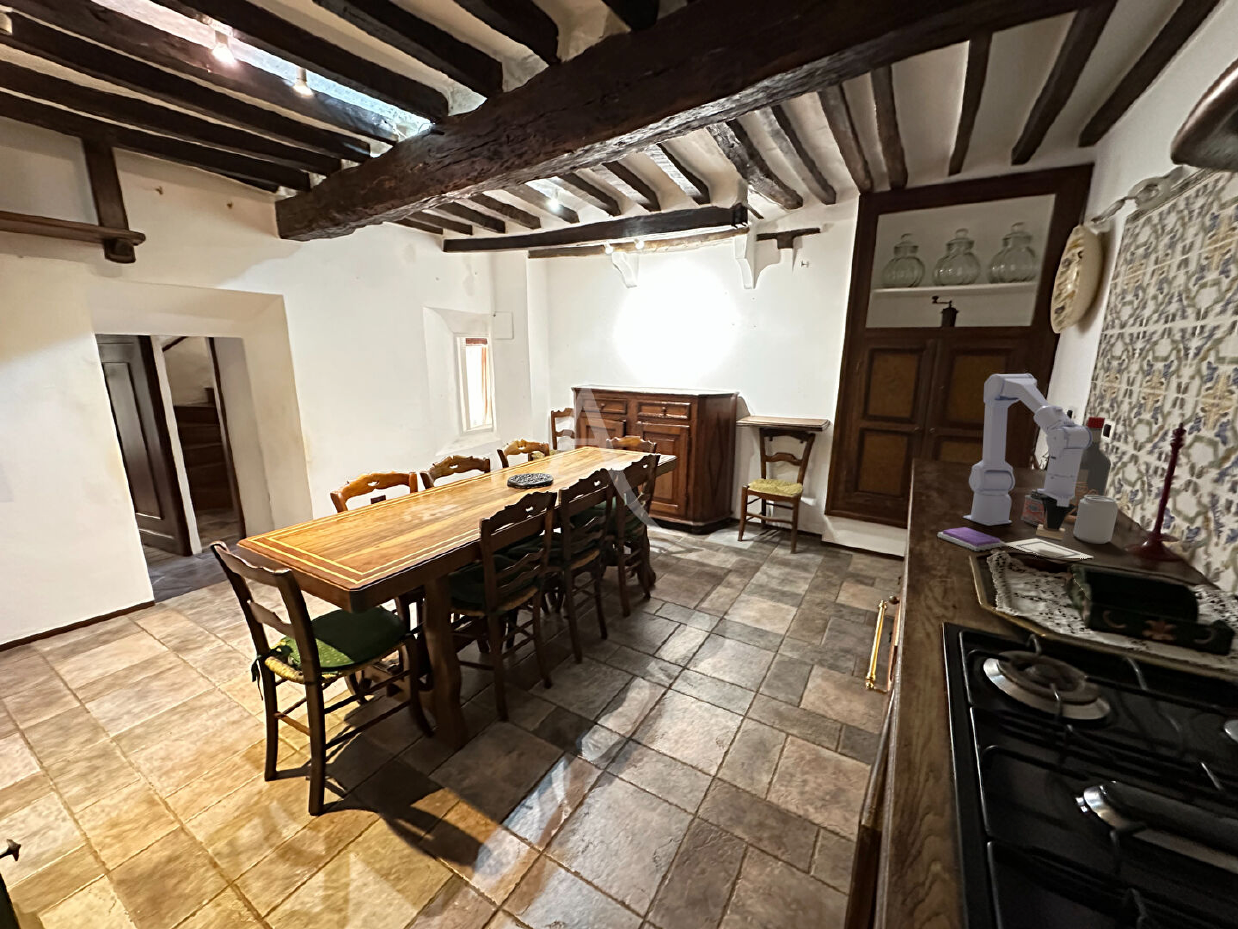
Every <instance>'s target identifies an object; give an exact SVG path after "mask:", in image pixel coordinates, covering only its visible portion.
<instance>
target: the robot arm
mask: <svg viewBox="0 0 1238 929" xmlns="http://www.w3.org/2000/svg"><path fill="white" fill-rule="evenodd" d="M1037 386H1038V380H1037V379H1036V378H1035V377H1034V376H1033V375H1032V374H1031V373H1007V374H1005V373H1004V374H1002V373H1001V374H1000V373H993V374H991V375H989V377H988V378H987V379H986V380H985V382H984V386H983V403H984V404H985V405H984V422H983V424H984V425H983V439H982V440H983V442H982V444H983V445H982V459H981V460H980V461H979V462H978V463H975V464H974V465H972V466H971V471H970V472H971V473H970V475H969V477H968V484H969V486H970V488H971V490H972V491H973V492H974V494H973V500H972V507H971V513H970V514H969V515H963V517H962V518H964V519H967V520H969V521H972V522H976V523H978V524H981V525H985V526H995V525H996V526H997V525H1003V524H1010V523H1012V520H1009V519H1010V512H1011V508H1012V498H1011V496H1010V494H1009V492H1010V491H1012V490H1013V489H1014V487H1015V484H1016V479H1015V476H1014V468H1013V466H1012V465H1010V464H1009V463H1008V462H1007V461H1006V447H1007V429H1008V428H1007V426H1008V425H1007V424H1008V410H1009V409H1008V408H1009V407H1010V406H1011V405H1012V404H1014V403H1017V402H1019V401H1021V402H1022V403H1023V404H1024V405H1025V406H1026V407H1027V408H1028V409H1030V411H1032V412H1033V413H1034V416H1033V420H1034V421H1033V422H1035V423H1036V424H1037V425H1038V427H1040V429H1041V430H1042V432H1044V433H1045V435H1046V437H1045V441H1046V445H1047V447H1048V448H1047V454H1048V456H1049V458H1048V459H1049V460H1048V465H1047V470H1046V474H1045V480H1044V483H1043V484H1044V485H1043V488H1036V490H1037V492H1038V493H1043V494H1045V495H1047V496H1045V495H1041V496H1040V497H1041V500H1042V503H1043V507H1044V519H1045V514H1046V511H1047V527H1048V528H1049V529H1057V530H1059V528H1061V526H1062V525H1063V523H1064V522H1065V521H1064V519H1065V517H1066V516H1067V514H1069V512H1070V511H1071V510H1072V509H1073V508H1074V507H1075V506H1074V505H1073V504H1069V502H1070V500H1071V499H1072V498H1074V497H1075V493H1074V491H1075V487H1076V482H1077V477H1078V472H1079V467H1080V462H1081V457H1082V452H1083V449H1086V448H1088V447H1089V446H1090V445H1091V443H1092V439H1093V436H1092V433H1091V431H1090V430H1089V428H1088V427H1087V425H1081V424H1078V423H1075V421H1073V419H1071V418H1070V417H1069V415H1067V413H1065V412H1064V409H1063V408H1062V407H1061V406H1058V405H1055V404H1054V405H1053V404H1052V405H1051V404H1049V402H1048V400H1047V399H1045V397H1044V396H1043V393H1041V391H1040V390H1039V389H1038V388H1037Z"/></svg>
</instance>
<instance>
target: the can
mask: <svg viewBox="0 0 1238 929" xmlns="http://www.w3.org/2000/svg"><path fill="white" fill-rule="evenodd" d="M1084 497H1085V498H1083V499H1081V500H1080V503H1079V508H1078V512H1077V514H1076V516H1077V517H1076V522H1074V528H1073V533H1072V534H1073V535H1074V536H1075V537H1076V539H1077V540H1080V541H1083V542H1086V543H1092V544H1101V545H1102V544H1106V543H1108V542H1111V541H1112V538H1113V534H1114V529H1115V524H1116V520H1117V516H1118V511H1119V507H1120V506H1119V505H1118V503H1116V502H1117V499H1115V498H1112V497H1109V496H1105V495H1104V496H1099V495H1085V496H1084Z"/></svg>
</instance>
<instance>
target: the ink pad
mask: <svg viewBox="0 0 1238 929" xmlns="http://www.w3.org/2000/svg"><path fill="white" fill-rule="evenodd" d="M937 536H938V537H937V538H940V539H942V540H944V541H948V542H951V543H953V544H955V545H958V546H960V547H963V548H965V547H966V548H965V549H968V548H969V549H968V550H970V549H971V551H973V550H974V552H981V551H980V550H982V551H987V550H986V549H988V550H992V549H991V548H994V549H996V548H995V547H1000V548H1002V547H1001V546H1004V547H1006V546H1005V543H1006V542H1005V541H1002V540H1001V538H998V537H995V536H992V535H990V534H986V533H984V532H980V531H978V530H974V529H972V528H969V527H966V526H965V527H958V528H957V527H956V528H949V529H945V530H943V531H939V532H937Z"/></svg>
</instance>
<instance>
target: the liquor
mask: <svg viewBox="0 0 1238 929" xmlns="http://www.w3.org/2000/svg"><path fill="white" fill-rule="evenodd" d="M1105 422H1106V417H1101V416H1089V417H1088V420H1087V423H1086V424H1087V425H1086V427H1088V428H1089V430H1090V431H1091V433H1092V436H1093V439H1092V443H1091V445H1090V446H1089V447H1088V448H1086V449H1083V452H1082V457H1081V462H1080V467H1079V472H1078V477H1077V482H1083V483H1085V484H1087V486H1088V488H1089V489H1088V491H1087V492H1086V493H1084V494H1088V493H1089V491H1090V490H1096V491H1097V492H1098V495H1099V496H1105V494H1106V490H1107V484H1108V480H1109V476H1110V471H1111V467H1112V463H1111V460H1110V458H1109V457H1108V456H1107V455H1106V454H1105V453H1104V452H1103V450H1101V449H1100V448H1101V444H1100V443H1101V438H1102V437H1101V436H1102V432H1103V429H1104V426H1105ZM1077 482H1076V483H1077ZM1085 484H1082V483H1078V484H1076V486H1079V487H1082V486H1083V487H1085V488H1087V486H1086V485H1085ZM1075 489H1076V490H1077V491H1083V490H1085V491H1086V490H1087V489H1082V488H1078V489H1077V488H1076V487H1075ZM1076 490H1075V492H1077V491H1076ZM1085 491H1084V492H1085ZM1096 491H1091V493H1093V494H1097V492H1096ZM1081 493H1083V492H1080V493H1079V495H1080V494H1081ZM1077 494H1078V492H1077ZM1089 495H1092V494H1089ZM1084 496H1085V495H1083V496H1082V497H1080V496H1079V499H1078V502H1079V503H1080V500H1081V499H1083V498H1085V497H1084ZM1077 497H1078V496H1075V497H1074V498H1072V502H1071V503H1072V504H1073V503H1074V504H1076V501H1077ZM1079 503H1077V504H1078V505H1079ZM1069 504H1070V502H1069ZM1078 505H1077V506H1076V505H1075V507H1074V508H1073V509H1072V510H1074V509H1075V508H1076V509H1077V511H1078V508H1079V506H1078ZM1072 510H1071V511H1072ZM1071 511H1070V512H1071ZM1077 511H1076V510H1075V511H1074V512H1072V513H1071V514H1076V515H1077ZM1070 512H1069V513H1070ZM1069 513H1068V514H1069Z"/></svg>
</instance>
